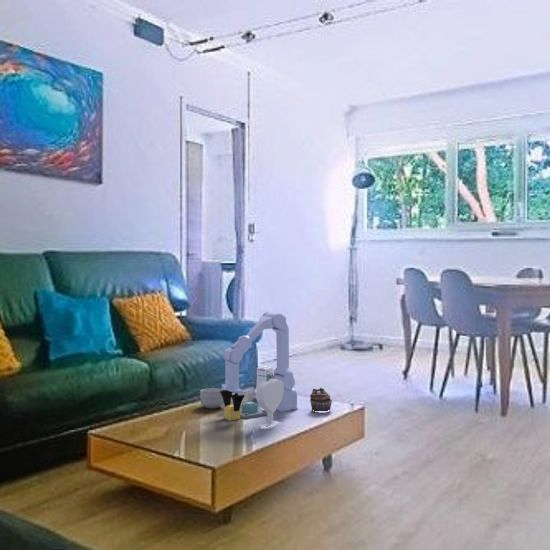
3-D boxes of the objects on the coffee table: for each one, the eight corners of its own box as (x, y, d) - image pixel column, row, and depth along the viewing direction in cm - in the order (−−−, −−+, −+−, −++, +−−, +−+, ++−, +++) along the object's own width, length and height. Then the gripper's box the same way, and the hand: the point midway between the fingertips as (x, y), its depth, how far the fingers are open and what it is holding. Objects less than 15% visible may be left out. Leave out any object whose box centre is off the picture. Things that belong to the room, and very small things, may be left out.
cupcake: (320, 415, 265) (320, 392, 265) (305, 410, 273) (305, 388, 273) (336, 411, 272) (336, 389, 271) (321, 407, 279) (321, 385, 279)
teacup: (196, 409, 274) (196, 391, 274) (205, 403, 285) (205, 386, 284) (225, 411, 270) (225, 393, 270) (234, 405, 281) (234, 388, 280)
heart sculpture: (275, 419, 258) (275, 376, 257) (285, 421, 255) (285, 378, 255) (254, 428, 245) (254, 383, 244) (264, 430, 242) (265, 384, 241)
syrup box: (266, 398, 295) (266, 368, 294) (256, 396, 298) (256, 367, 298) (273, 396, 299) (273, 366, 299) (263, 394, 303) (263, 365, 302)
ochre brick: (234, 416, 263) (234, 403, 263) (240, 418, 259) (240, 406, 258) (223, 417, 260) (224, 405, 260) (229, 420, 256) (230, 407, 256)
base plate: (254, 408, 275) (254, 398, 275) (268, 414, 265) (269, 403, 265) (230, 412, 268) (230, 401, 268) (245, 418, 258) (245, 407, 258)
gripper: (215, 375, 262) (215, 406, 263) (232, 381, 250) (232, 414, 251) (229, 373, 266) (229, 404, 267) (247, 379, 254) (247, 411, 255)
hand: (232, 409), depth 259 cm, fingers open, 7 cm apart
